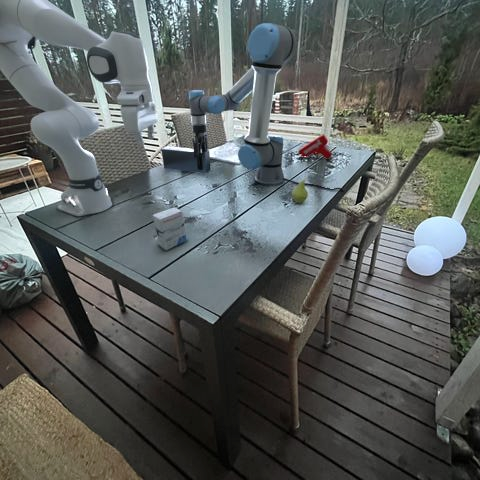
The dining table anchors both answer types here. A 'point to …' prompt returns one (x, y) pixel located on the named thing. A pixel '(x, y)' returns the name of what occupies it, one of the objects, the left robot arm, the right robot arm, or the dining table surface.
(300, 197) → the fruit
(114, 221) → the dining table surface
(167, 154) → the box
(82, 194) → the left robot arm
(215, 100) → the right robot arm
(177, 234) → the ink box
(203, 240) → the dining table surface
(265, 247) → the dining table surface
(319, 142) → the toy gun
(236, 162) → the relief map
